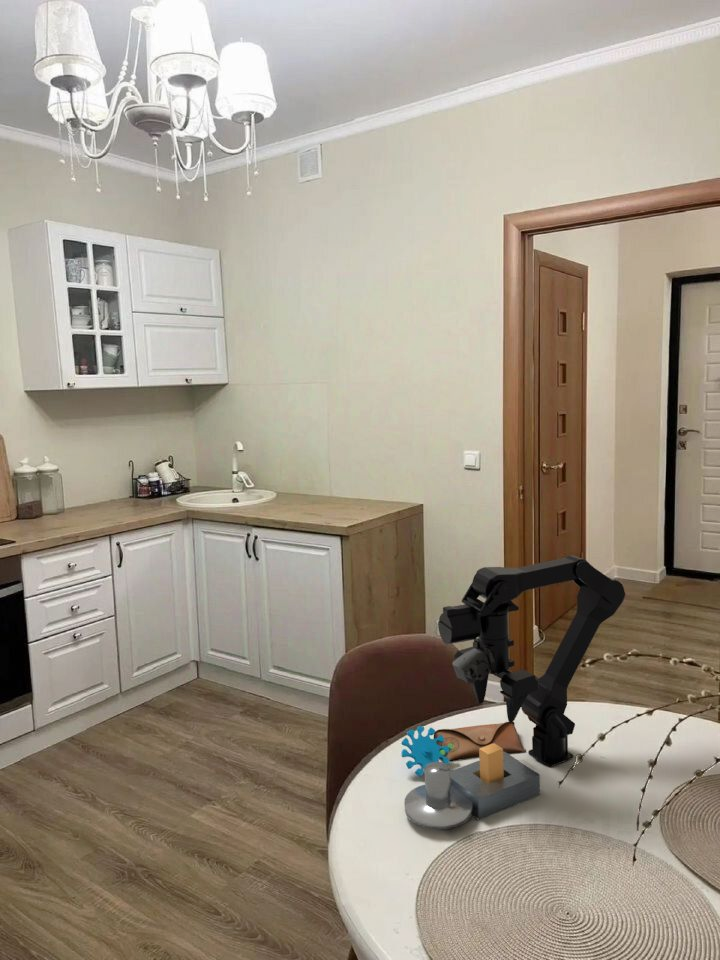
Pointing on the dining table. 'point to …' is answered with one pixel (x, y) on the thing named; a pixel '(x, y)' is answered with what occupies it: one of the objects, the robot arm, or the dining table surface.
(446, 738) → the sunglasses case
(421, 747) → the gear
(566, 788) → the dining table surface
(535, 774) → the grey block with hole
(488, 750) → the tan wooden beam
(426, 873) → the dining table surface
